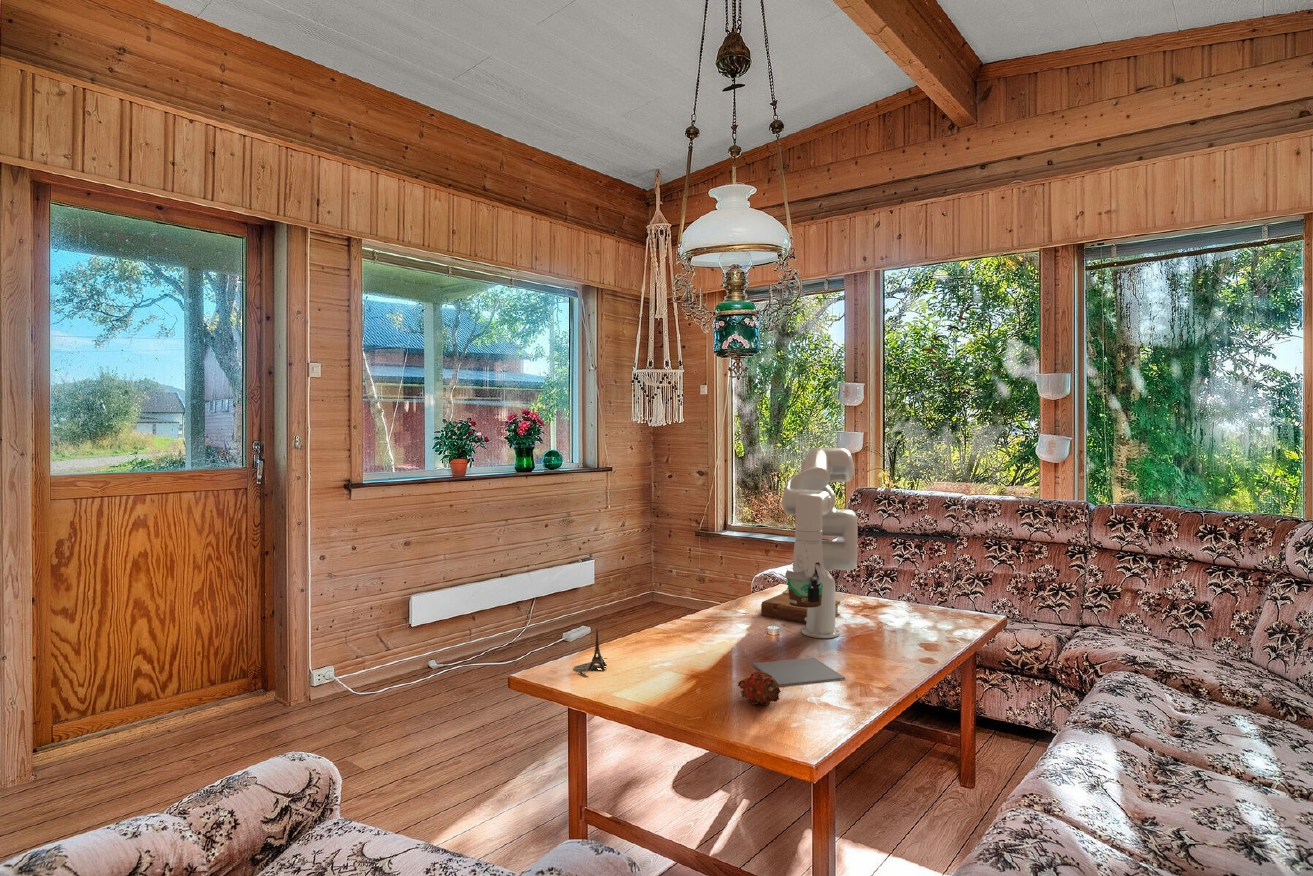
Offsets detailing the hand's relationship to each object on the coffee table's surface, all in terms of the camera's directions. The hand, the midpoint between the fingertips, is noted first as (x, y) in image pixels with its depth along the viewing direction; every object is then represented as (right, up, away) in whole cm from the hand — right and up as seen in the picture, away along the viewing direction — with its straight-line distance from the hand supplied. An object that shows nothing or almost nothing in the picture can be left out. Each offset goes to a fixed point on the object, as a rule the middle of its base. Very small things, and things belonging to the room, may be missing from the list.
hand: (808, 598), depth 210 cm
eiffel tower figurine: (-61, -22, +5) cm, 65 cm away
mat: (-3, -21, +1) cm, 21 cm away
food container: (0, -2, 0) cm, 2 cm away
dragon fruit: (-17, -22, -22) cm, 36 cm away
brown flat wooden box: (+10, -21, +63) cm, 67 cm away
